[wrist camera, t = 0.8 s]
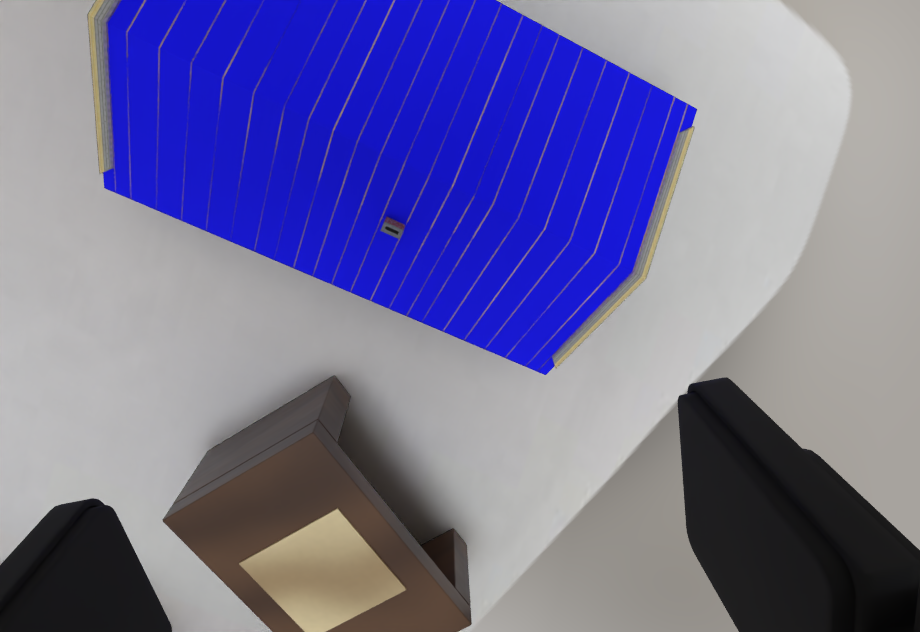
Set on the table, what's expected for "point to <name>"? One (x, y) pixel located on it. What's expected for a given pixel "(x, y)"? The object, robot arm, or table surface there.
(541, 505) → the table surface
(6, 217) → the table surface
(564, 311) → the roof
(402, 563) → the shelf
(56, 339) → the table surface
